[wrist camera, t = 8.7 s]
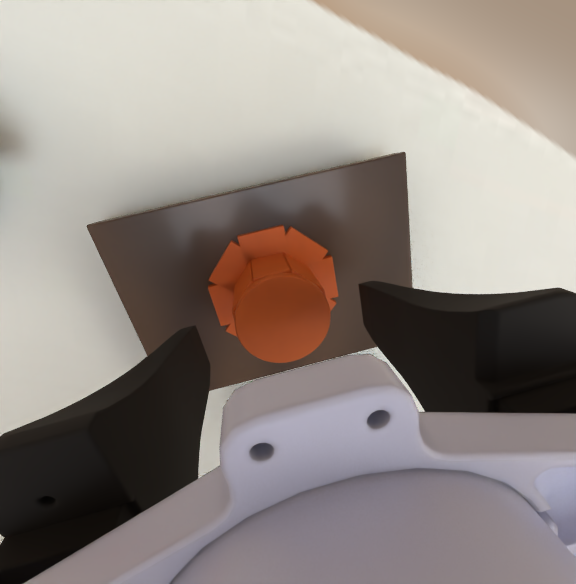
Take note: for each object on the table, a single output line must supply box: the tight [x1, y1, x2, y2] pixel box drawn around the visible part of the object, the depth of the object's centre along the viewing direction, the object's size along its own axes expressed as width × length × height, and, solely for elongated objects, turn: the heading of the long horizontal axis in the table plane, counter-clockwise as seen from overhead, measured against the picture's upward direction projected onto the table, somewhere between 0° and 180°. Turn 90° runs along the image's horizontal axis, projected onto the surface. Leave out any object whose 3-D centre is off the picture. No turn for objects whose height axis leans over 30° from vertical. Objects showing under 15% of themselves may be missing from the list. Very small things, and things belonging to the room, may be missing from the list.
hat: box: [208, 225, 338, 363], centre depth 15 cm, size 7×7×4 cm
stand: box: [87, 152, 412, 391], centre depth 18 cm, size 16×11×2 cm
